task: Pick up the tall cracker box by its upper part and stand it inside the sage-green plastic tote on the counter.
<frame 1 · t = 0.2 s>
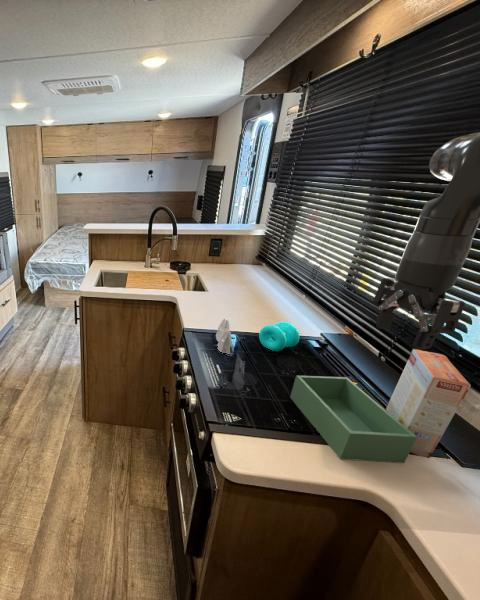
hand: (399, 337, 61), 31 cm above the table, tool pointing down, fingers open, 8 cm apart
tote: (339, 425, 80), on the table
cracker box: (404, 435, 77), on the table
donuts: (275, 348, 117), on the table
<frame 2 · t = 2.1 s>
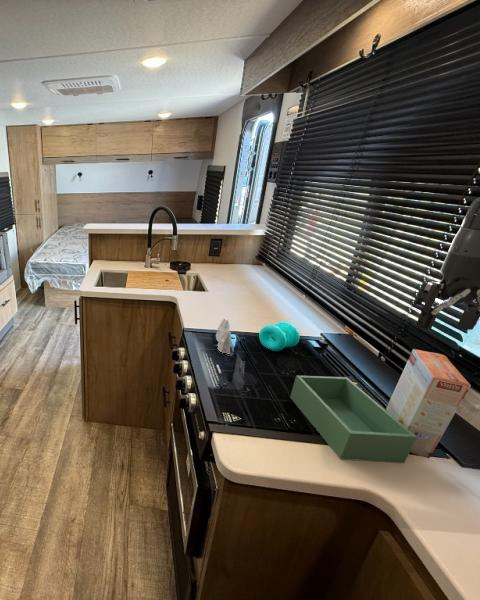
hand: (443, 328, 64), 31 cm above the table, tool pointing down, fingers open, 8 cm apart
nothing on the table moved.
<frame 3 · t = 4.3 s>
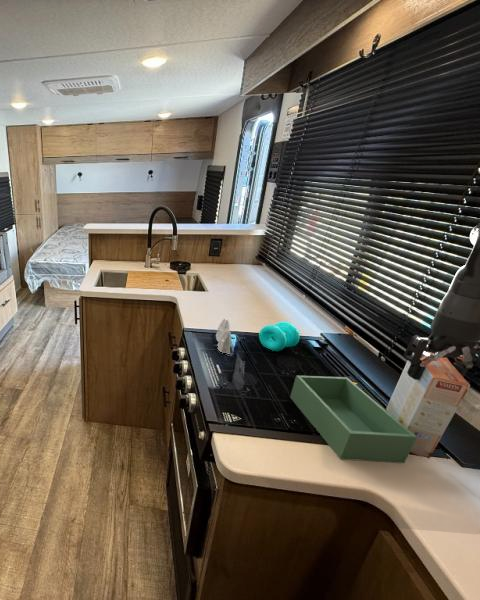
hand: (433, 378, 71), 17 cm above the table, tool pointing down, fingers closed on cracker box, 8 cm apart
cracker box: (404, 435, 77), on the table, touching gripper
everything else where it was.
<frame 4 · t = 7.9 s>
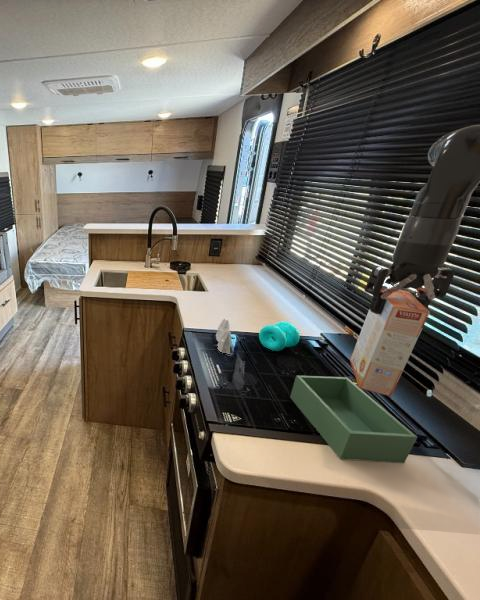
hand: (395, 313, 68), 33 cm above the table, tool pointing down, fingers closed on cracker box, 8 cm apart
cracker box: (368, 378, 74), point 15 cm above the table, touching gripper
everything else where it was.
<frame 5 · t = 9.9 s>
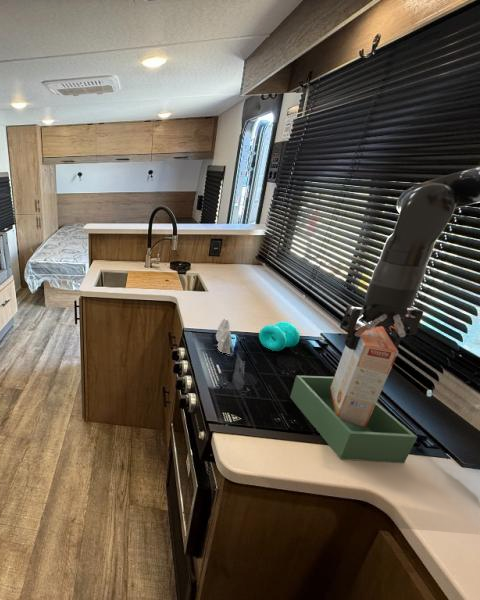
hand: (369, 348, 71), 23 cm above the table, tool pointing down, fingers closed on cracker box, 8 cm apart
cracker box: (346, 407, 78), point 6 cm above the table, touching gripper
everything else where it was.
when the fingers open (18 cm above the table, at t = 11.9 s): cracker box stays where it is, resting on tote.
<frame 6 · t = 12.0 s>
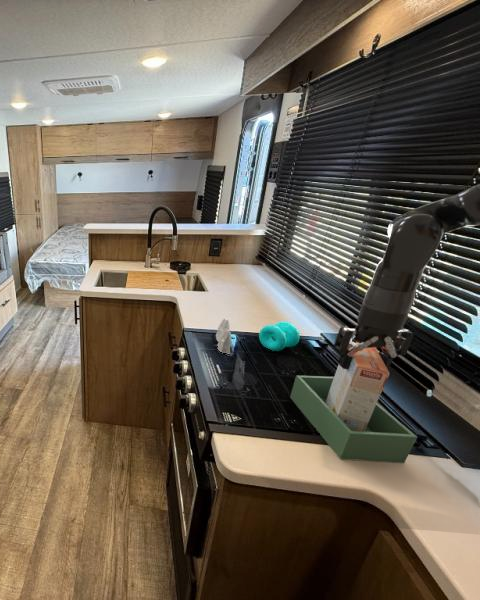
hand: (362, 368, 73), 18 cm above the table, tool pointing down, fingers open, 8 cm apart
cracker box: (340, 424, 80), point 1 cm above the table, touching tote
everything else where it was.
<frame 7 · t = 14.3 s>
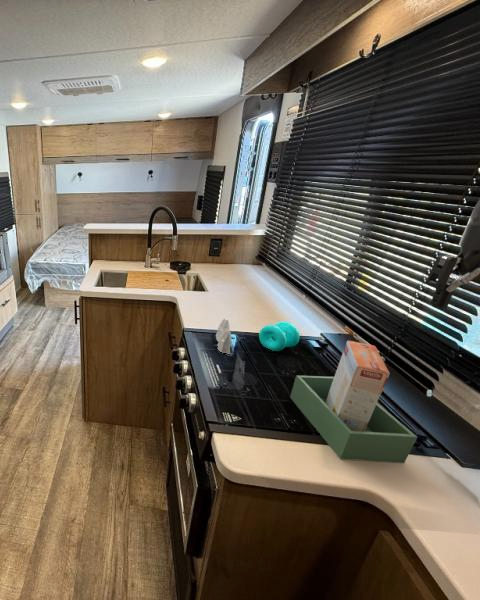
hand: (463, 308, 59), 37 cm above the table, tool pointing down, fingers open, 8 cm apart
nothing on the table moved.
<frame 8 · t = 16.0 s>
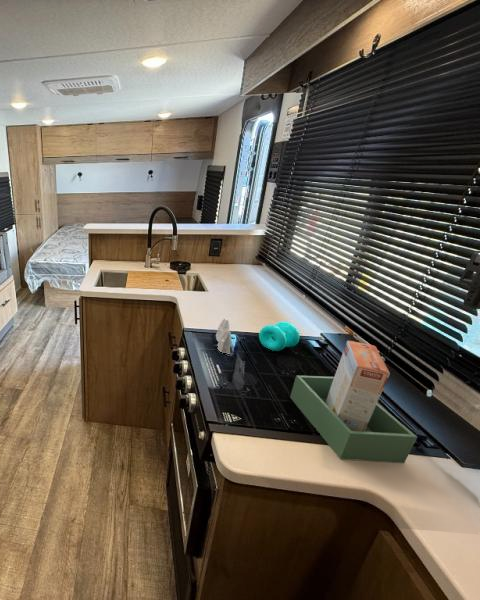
nothing on the table moved.
at the end: cracker box inside the target area in the tote (0.1 cm from its centre), point 0.6 cm above the tote's base; cracker box tilted 0°; the gripper is holding nothing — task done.
